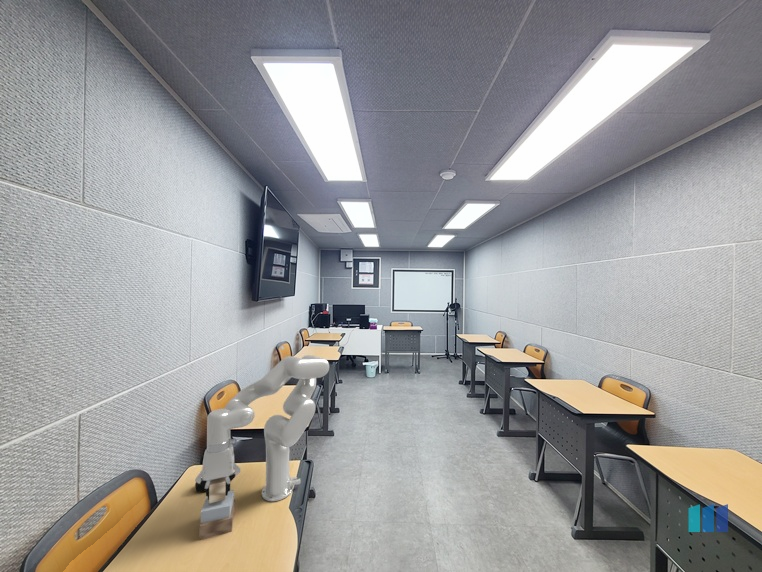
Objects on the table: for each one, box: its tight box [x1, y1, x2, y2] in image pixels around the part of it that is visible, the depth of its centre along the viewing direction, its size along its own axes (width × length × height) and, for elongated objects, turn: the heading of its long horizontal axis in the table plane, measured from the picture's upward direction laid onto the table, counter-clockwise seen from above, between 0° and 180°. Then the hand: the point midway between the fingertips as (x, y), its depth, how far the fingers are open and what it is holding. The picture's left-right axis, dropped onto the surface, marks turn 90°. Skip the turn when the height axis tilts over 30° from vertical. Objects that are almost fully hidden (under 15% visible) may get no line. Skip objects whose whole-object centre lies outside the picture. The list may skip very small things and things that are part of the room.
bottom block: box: [198, 499, 236, 541], centre depth 106 cm, size 10×10×5 cm
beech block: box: [209, 477, 226, 503], centre depth 106 cm, size 5×5×6 cm
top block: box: [200, 489, 235, 523], centre depth 106 cm, size 9×9×4 cm
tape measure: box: [194, 481, 211, 493], centre depth 126 cm, size 7×7×4 cm
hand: (218, 494), depth 106 cm, fingers closed on beech block, 5 cm apart
